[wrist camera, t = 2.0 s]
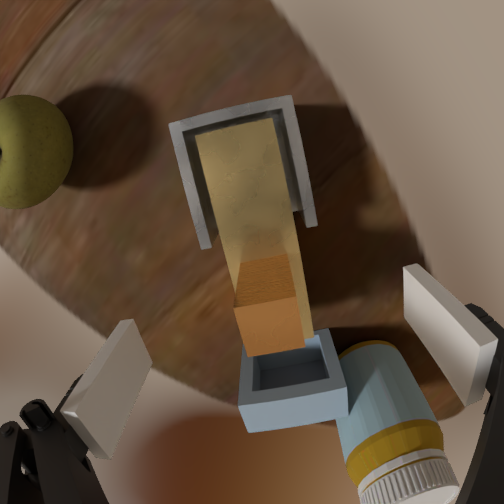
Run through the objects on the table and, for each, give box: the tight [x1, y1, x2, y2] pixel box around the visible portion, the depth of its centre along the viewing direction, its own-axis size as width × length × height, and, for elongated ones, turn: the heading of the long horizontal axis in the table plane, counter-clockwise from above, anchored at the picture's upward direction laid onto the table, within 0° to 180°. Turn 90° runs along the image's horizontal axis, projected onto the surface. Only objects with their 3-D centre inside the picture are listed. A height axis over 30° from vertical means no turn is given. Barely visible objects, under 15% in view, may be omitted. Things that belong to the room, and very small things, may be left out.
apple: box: [0, 95, 73, 209], centre depth 17 cm, size 8×8×7 cm
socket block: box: [238, 328, 348, 433], centre depth 22 cm, size 3×7×7 cm, turn 103°
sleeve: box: [169, 95, 318, 250], centre depth 18 cm, size 7×6×5 cm
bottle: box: [336, 340, 459, 504], centre depth 19 cm, size 7×7×15 cm
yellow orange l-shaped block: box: [195, 118, 314, 357], centre depth 17 cm, size 13×4×9 cm, turn 13°
